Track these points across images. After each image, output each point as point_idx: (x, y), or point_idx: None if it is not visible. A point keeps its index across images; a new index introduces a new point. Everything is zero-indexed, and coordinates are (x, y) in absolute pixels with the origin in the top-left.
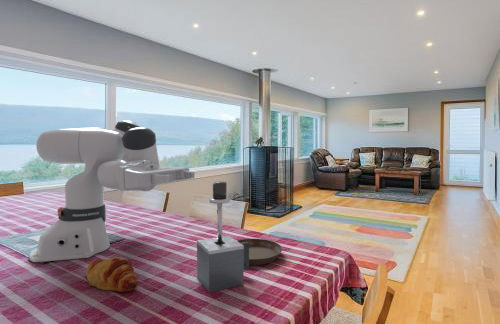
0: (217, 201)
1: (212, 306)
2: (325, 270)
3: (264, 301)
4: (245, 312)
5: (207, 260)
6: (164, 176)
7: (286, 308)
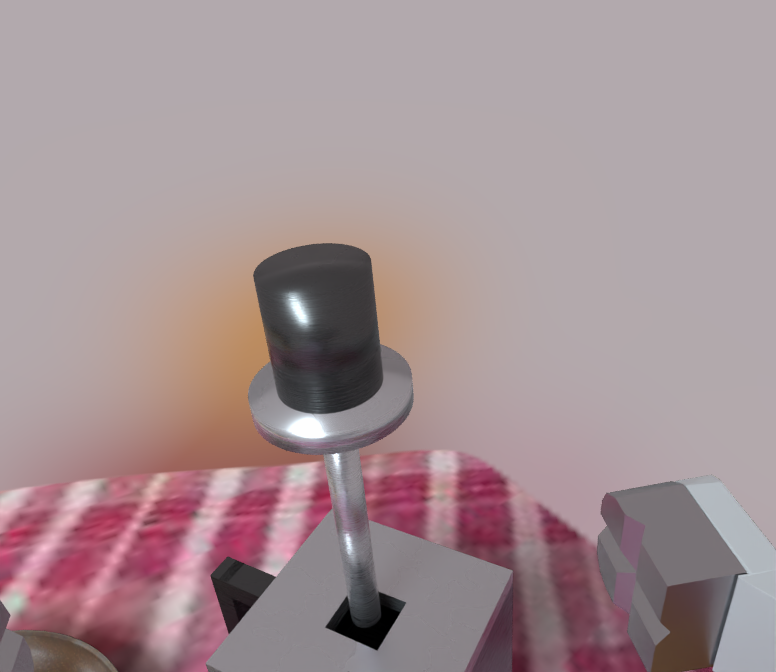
0: (402, 362)
1: (576, 623)
2: (87, 492)
3: (420, 522)
4: (517, 527)
5: (504, 630)
6: (760, 554)
7: (415, 467)
